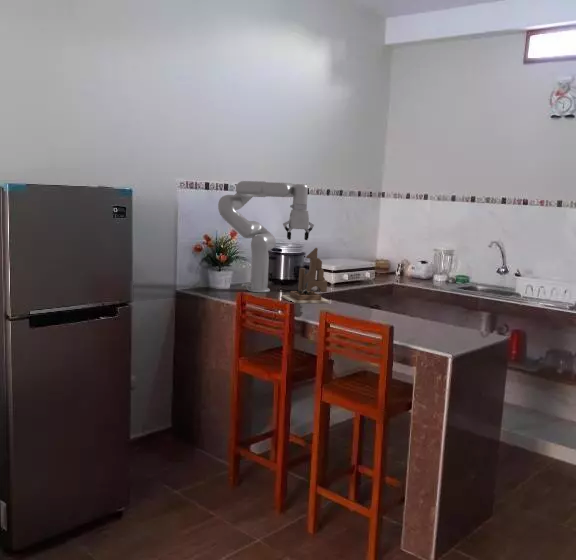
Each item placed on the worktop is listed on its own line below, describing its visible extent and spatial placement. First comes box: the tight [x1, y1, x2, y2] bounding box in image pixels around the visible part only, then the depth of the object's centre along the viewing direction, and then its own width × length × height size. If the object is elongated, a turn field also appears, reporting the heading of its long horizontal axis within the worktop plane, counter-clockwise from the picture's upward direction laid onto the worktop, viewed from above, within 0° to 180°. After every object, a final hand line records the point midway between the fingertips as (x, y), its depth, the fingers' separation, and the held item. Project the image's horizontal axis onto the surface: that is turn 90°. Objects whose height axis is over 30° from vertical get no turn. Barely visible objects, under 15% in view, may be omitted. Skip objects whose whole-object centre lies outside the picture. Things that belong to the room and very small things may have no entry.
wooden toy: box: [297, 247, 328, 293], centre depth 360 cm, size 16×7×25 cm, turn 108°
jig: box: [281, 290, 330, 304], centre depth 331 cm, size 20×18×4 cm
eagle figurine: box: [296, 281, 316, 295], centre depth 331 cm, size 8×7×9 cm
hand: (297, 239), depth 339 cm, fingers open, 9 cm apart
